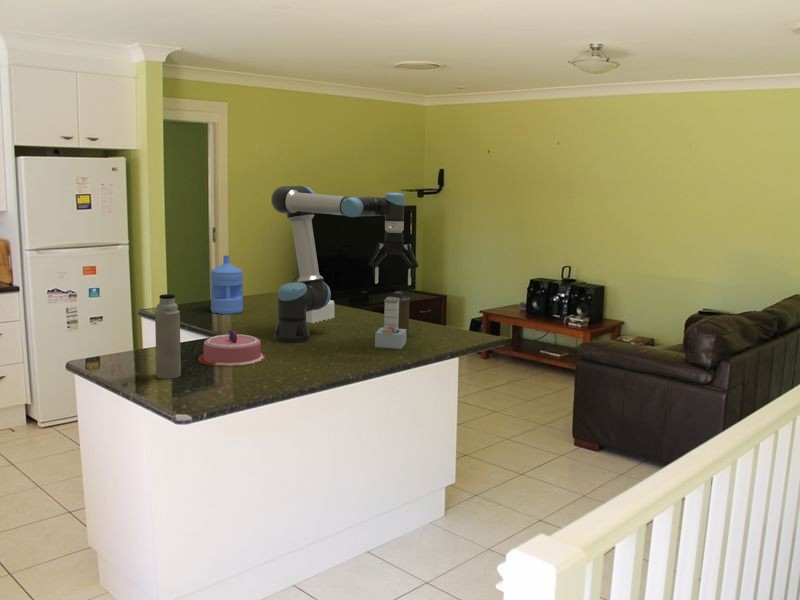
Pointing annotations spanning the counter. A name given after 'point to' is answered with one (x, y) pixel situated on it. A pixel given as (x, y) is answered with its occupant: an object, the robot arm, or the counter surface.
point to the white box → (321, 313)
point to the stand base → (390, 338)
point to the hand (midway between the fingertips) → (392, 284)
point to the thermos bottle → (167, 338)
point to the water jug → (226, 288)
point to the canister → (403, 311)
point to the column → (391, 314)
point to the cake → (232, 350)
